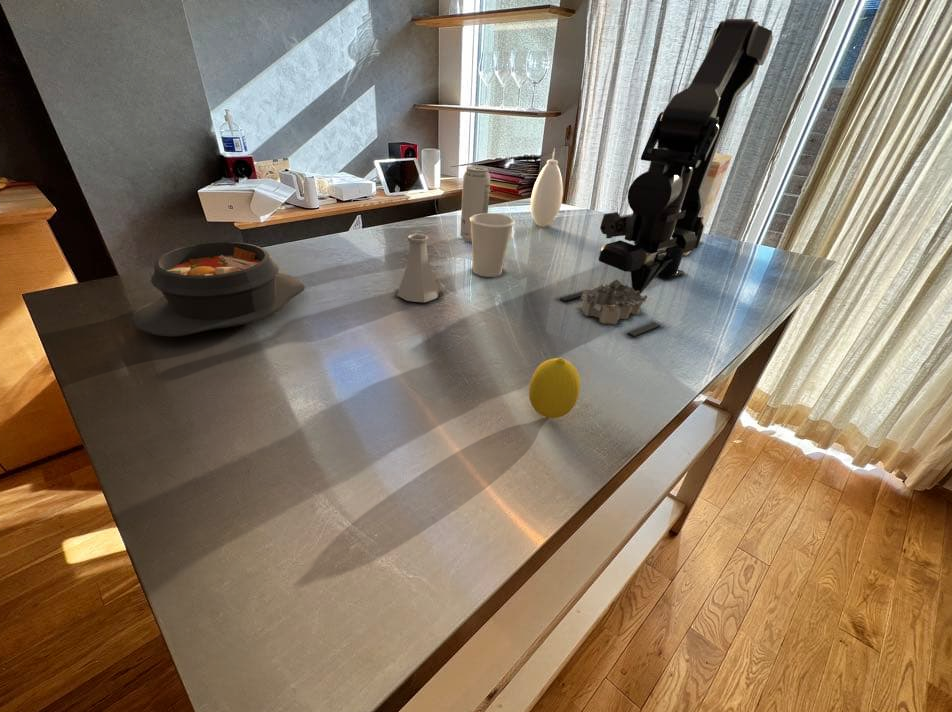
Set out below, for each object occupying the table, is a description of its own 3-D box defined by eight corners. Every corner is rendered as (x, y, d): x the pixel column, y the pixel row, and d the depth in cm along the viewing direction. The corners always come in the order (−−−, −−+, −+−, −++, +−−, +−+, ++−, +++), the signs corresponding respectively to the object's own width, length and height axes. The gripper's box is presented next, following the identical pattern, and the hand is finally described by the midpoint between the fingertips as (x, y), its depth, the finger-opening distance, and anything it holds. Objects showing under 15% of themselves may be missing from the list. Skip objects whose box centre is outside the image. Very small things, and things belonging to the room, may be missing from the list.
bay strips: (585, 292, 82) (586, 290, 82) (659, 326, 72) (660, 325, 72) (559, 299, 79) (559, 298, 79) (633, 337, 69) (634, 335, 69)
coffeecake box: (672, 235, 116) (701, 151, 104) (701, 242, 112) (734, 155, 101) (656, 249, 106) (685, 157, 94) (686, 256, 103) (721, 162, 91)
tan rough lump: (608, 328, 71) (614, 304, 69) (573, 310, 76) (578, 287, 73) (647, 312, 77) (654, 290, 74) (612, 297, 81) (618, 275, 79)
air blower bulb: (526, 228, 114) (538, 148, 103) (528, 220, 120) (538, 144, 109) (557, 231, 113) (571, 151, 102) (556, 223, 119) (570, 146, 108)
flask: (446, 292, 79) (448, 234, 73) (426, 307, 74) (427, 246, 68) (410, 283, 81) (409, 227, 75) (389, 297, 76) (386, 238, 70)
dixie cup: (486, 282, 83) (492, 228, 77) (457, 269, 88) (460, 216, 82) (516, 273, 88) (524, 221, 82) (487, 261, 93) (492, 210, 87)
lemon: (520, 402, 54) (530, 345, 49) (564, 402, 54) (578, 345, 49) (529, 432, 49) (541, 373, 45) (577, 432, 50) (594, 373, 45)
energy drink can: (461, 234, 107) (465, 164, 98) (486, 236, 106) (492, 167, 97) (458, 241, 102) (461, 169, 93) (484, 244, 102) (490, 171, 92)
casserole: (262, 273, 81) (251, 226, 76) (332, 302, 73) (325, 252, 68) (112, 320, 64) (85, 263, 59) (181, 364, 56) (157, 303, 51)
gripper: (653, 184, 78) (630, 269, 88) (582, 198, 69) (565, 291, 79) (713, 198, 71) (680, 289, 81) (642, 216, 62) (615, 316, 72)
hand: (635, 295), depth 78 cm, fingers closed
